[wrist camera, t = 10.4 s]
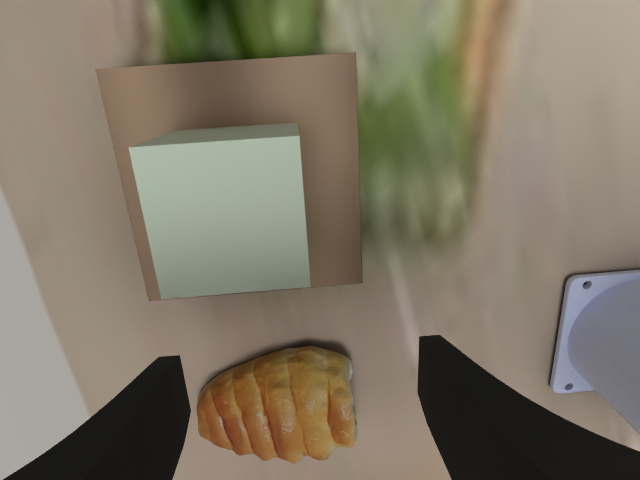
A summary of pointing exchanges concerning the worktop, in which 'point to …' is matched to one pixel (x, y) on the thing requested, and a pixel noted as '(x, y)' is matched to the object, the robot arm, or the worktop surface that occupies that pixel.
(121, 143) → the walnut base block
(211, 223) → the sage green block
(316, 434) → the pastry
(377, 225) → the worktop surface
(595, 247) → the worktop surface
